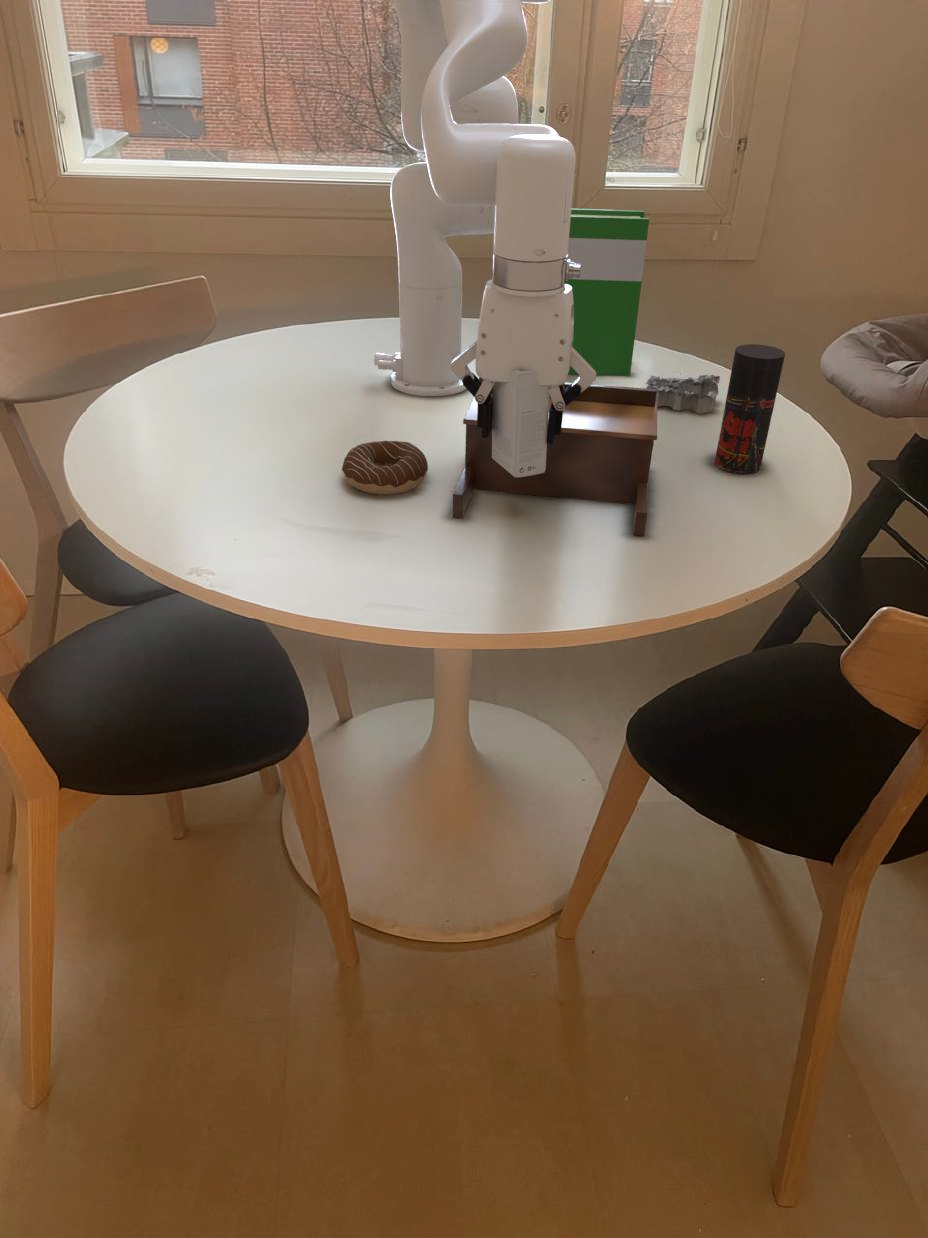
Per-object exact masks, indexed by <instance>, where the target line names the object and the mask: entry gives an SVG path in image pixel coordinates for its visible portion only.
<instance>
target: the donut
mask: <svg viewBox="0 0 928 1238" xmlns="http://www.w3.org/2000/svg"><path fill="white" fill-rule="evenodd" d="M341 471H342V472H343V475H344V478H345V480H346V481H347V482H348V483H349V484H350V485H351V486H352V487H353V488H355V489H357V490H359V491H361V492H364V493H368V494H372V495H373V494H374V495H396V494H401V493H406V492H408V491H410V490H412V489H414V488H416V487H418V486H419V485H420V484H421V483H422V482H423V481H424V480H425V478H426V476H427V473H428V471H429V464H428V460H427V457H426V456H425V454H424V452H423V451H422V450H421V448H419V447H417V446H416V445H415V444H412V443H411V442H408V441H401V440H380V441H378V440H377V441H371V442H369V441H368V442H365V443H363V442H362V443H360V444H357V445H356V446H354V447H352V448H351V449H350V450H349V451H348V452H347V454H346V456H345V457H344V459H343V462H342V468H341Z"/></svg>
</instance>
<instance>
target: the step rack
mask: <svg viewBox="0 0 928 1238" xmlns="http://www.w3.org/2000/svg"><path fill="white" fill-rule="evenodd" d="M478 379H479V380H480V381H481V382H482V381H483V379H482V378H480V377H479V376H478ZM572 383H573V382H567V381H566V382H565V383H564V384H563V386H564V389H566V388H567V387H568V386H569V385H570V384H572ZM490 392H491V395H492V397H493V387H492V389H491V391H490ZM656 395H657V389H647V387H633V386H621V385H620V386H618V385H606V384H595V383H592V384H591V385H590V386H589V387H588V388H586V389H585V390H584V391H583V392H582V393H581V394H580V395H579V396H578V397H577V398H576V399H574V400H573V401H572V402H571V403H569V404H568V405H567V406H566V407H565V408H564V410H563V418H562V429H561V435H555V438H554V442H553V445H552V444H548V443H547V453H546V470H545V472H544V473H541V474H536V475H531V476H526V477H514V476H513V475H512V474H510V473H509V472H508V471H507V470H506V469H504V468H503V467H502V466H501V465H500V464H499V463H497V462H496V461H495V460H494V459H493V458H492V429H491V432H490V434H489V437H487V438H482V428H480V427H477V414H478V403H477V402H476V401H475V398H474V397H473V399H472V400H471V403H470V405H469V407H468V409H467V411H466V413H465V415H464V417H463V420H462V425H465V448H464V450H465V452H464V454H465V455H464V456H465V457H464V459H465V460H464V468H463V470H462V473H461V474H460V477H459V479H458V481H457V484H456V487H455V489H454V491H453V493H452V518H456V519H463V518H464V516H465V513H466V510H467V509H468V506H469V504H470V501H471V499H472V495H473V494H474V493H473V492H474V490H477V491H487V492H488V491H489V492H498V493H508V494H519V495H529V496H530V495H531V496H540V497H541V496H542V497H550V498H551V497H552V498H562V499H574V500H582V501H583V500H584V501H594V502H595V501H596V502H603V503H604V502H605V503H617V504H625V505H626V504H627V505H634V511H633V533H632V535H633V536H639V537H644V536H645V532H646V526H647V519H648V505H649V504H648V503H649V501H648V499H649V498H648V497H649V496H648V495H649V493H648V492H649V478H650V471H651V465H652V463H651V462H652V456H653V449H654V442H655V441H657V440H658V407H657V405H656V404H655V402H656ZM551 403H552V400H551V397H549V410H550V406H551ZM548 419H549V415H548Z"/></svg>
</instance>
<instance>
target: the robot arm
mask: <svg viewBox="0 0 928 1238" xmlns="http://www.w3.org/2000/svg"><path fill="white" fill-rule="evenodd" d="M550 1H551V0H392V2H393V4H394V8H395V12H396V16H397V21H398V25H399V30H400V43H401V44H400V108H401V109H400V115H401V129H402V134H403V138H404V140H405V143H406V144H407V145H408V147H409V148H411V149H412V150H414V151H417V152H420V153H425V154H424V155H425V160H426V161H424V162H423V161H422V162H414V163H411V164H407V165H405V166H402V167H401V168H400V169H398V170H397V172H395V174H394V175H393V177H392V180H391V183H390V204H391V210H392V217H393V223H394V229H395V236H396V247H397V267H398V268H397V269H398V270H397V271H398V308H399V309H398V310H399V311H398V313H399V314H398V316H399V317H398V319H399V352H395V353H394V354H387V353H380V352H375V353H374V356H373V362H374V366H377V369H378V370H383V371H384V370H385V371H387V370H391V371H392V374H391V376H390V384H391V386H392V387H393V388H394V390H397V391H399V392H401V393H404V394H408V395H413V396H418V397H419V396H420V397H444V396H450V395H455V394H459V393H462V392H463V391H465V390H467V392H468V393H470V394H471V395H472V397H473V399H474V398H475V401H476V402H477V403H478V414H477V427H480V428H482V438H487V437H489V434H490V432H491V429H492V412H493V397H492V395H491V392H490V391H491V389H492V387H493V386H494V384H495V382H499V383H508V382H509V378H510V371H511V370H528V371H536V373H537V377H538V382H539V385H542V386H546V387H548V392H549V395H550V397H551V400H552V403H551V406H550V410H549V419H548V431H547V443H548V444H552V445H553V442H554V438H555V435H561V429H562V418H563V410H564V408H565V407H566V406H567V405H568V404H569V403H571V402H572V401H573V400H574V399H576V398H577V397H578V396H579V395H580V394H581V393H582V392H583V391H584V390H585V389H586V388H588V387H589V386H590V385H591V384H594V383H595V381H596V379H597V376H598V375H597V374H596V371H595V370H594V369H593V368H592V367H591V366H590V365H589V364H588V363H587V362H586V361H585V360H584V359H583V358H582V357H581V356H580V354H579V353H578V352H577V351H576V350H575V349H574V348H573V331H574V303H573V291H572V287H571V286H570V285H568V284H565V281H568V279H572V278H580V271H581V264H574V262H570V259H568V242H569V231H570V219H571V209H573V198H574V197H573V195H574V184H575V174H576V173H575V172H576V158H577V157H576V150H575V146H574V145H573V143H572V142H571V141H570V140H568V139H566V138H564V137H561V135H559V133H558V132H557V130H555V129H554V128H552V127H551V126H549V125H544V124H536V123H519V102H518V97H517V92H516V90H515V87H514V86H513V84H512V83H511V81H510V80H509V79H508V78H507V77H505V76H506V75H508V74H509V73H510V72H512V71H513V70H514V69H515V68H516V67H517V66H518V65H519V63H520V62H521V61H522V59H523V58H524V56H525V54H526V51H527V48H528V43H529V33H528V26H527V22H526V18H525V13H524V9H523V5H522V3H523V4H526V3H527V4H546V3H549V2H550ZM491 234H493V251H492V252H493V253H492V275H491V279H489V280H487V281H486V282H485V286H484V290H483V295H482V301H481V305H480V312H479V319H478V320H479V321H478V327H477V328H478V329H477V338H476V341H475V342H474V343H473V344H470V346H469V347H467V348H466V349H465V350H463V351H462V323H463V321H462V320H463V319H462V318H463V315H462V313H463V269H462V263H461V261H460V260H459V257H458V256H457V255H456V253H455V252H454V251H453V250H452V248H451V247H450V246H449V244H448V243H447V240H446V238H447V237H455V236H464V235H466V236H468V235H471V236H472V235H491ZM474 360H475V373H476V374H475V373H474V372H472V371H471V370H470V368H469V367H468V365H469V364H471V362H473V361H474ZM571 367H572V368H573V369H574V370H575V371H576V372H577V373H578V374H577V375H579V377H578V378H577V379H576V380H574V381H573V382H571V383H572V384H570V385H569V386H568V387H567V388H566V389H564V386H563V384H564V383H565V382H567V380H568V377H569V374H568V372H569V371H570V368H571ZM476 375H477V376H476ZM479 377H480V378H482V379H483V381H482V382H481V381H480V380H479Z"/></svg>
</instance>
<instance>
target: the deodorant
mask: <svg viewBox="0 0 928 1238" xmlns="http://www.w3.org/2000/svg"><path fill="white" fill-rule="evenodd" d="M785 357H786V352H785V351H784V350H782V349H781V348H778V347H775V346H770V345H765V344H758V343H757V344H755V343H754V344H753V343H751V344H748V343H747V344H741V345H738V346H736V347H735V349H734V355H733V361H732V366H731V372H730V375H729V376H730V377H729V382H728V386H727V387H728V388H727V393H726V399H725V404H724V409H723V414H722V420H721V426H720V430H719V435H718V442H717V446H716V448H717V449H716V453H715V458H714V465H715V466H716V467H717V468H718V469H720V470H722V471H724V472H727V473H731V474H738V475H751V474H755V473H758V472H759V471H761V468H762V463H763V459H764V454H765V449H766V445H767V441H768V435H769V431H770V426H771V422H772V417H773V412H774V408H775V402H776V399H777V393H778V390H779V385H780V381H781V376H782V370H783V366H784V362H785Z"/></svg>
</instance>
